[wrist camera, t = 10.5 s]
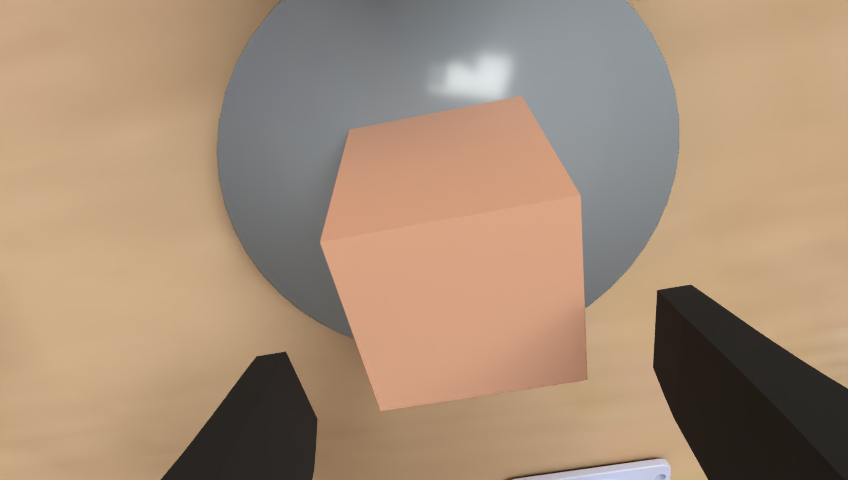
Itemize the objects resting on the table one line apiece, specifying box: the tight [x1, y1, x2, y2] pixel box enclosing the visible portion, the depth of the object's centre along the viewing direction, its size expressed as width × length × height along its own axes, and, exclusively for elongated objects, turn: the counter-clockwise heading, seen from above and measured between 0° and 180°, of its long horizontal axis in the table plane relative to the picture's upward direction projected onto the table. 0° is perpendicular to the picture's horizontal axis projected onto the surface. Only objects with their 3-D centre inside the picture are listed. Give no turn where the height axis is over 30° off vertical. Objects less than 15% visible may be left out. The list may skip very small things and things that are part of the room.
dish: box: [217, 0, 679, 339], centre depth 17 cm, size 14×14×1 cm
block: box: [320, 96, 587, 411], centre depth 14 cm, size 5×5×6 cm
